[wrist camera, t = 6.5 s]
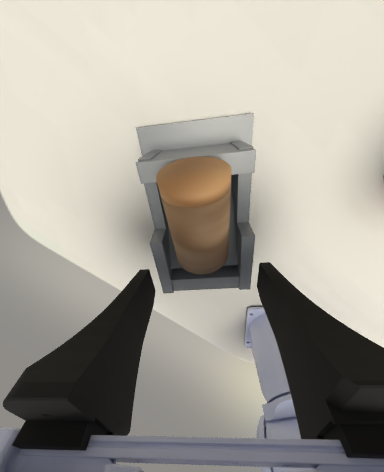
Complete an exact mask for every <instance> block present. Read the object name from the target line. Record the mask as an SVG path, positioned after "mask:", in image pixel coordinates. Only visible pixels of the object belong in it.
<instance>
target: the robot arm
mask: <svg viewBox="0 0 384 472" xmlns="http://www.w3.org/2000/svg"><path fill="white" fill-rule="evenodd" d="M257 288H258V292H259V296H260V299H261V302H262V305H263V307H250V308H248V309H247V320H246V331H245V343H244V344H245V347H247V348H252V351H253V355H254V360H255V364H256V368H257V373H258V377H259V381H260V386H261V390H262V393H263V395H264V397H265V399H266V401H267V404H263V405H262V407H263V411H264V416H261V417H260V420H259V424H258V428H257V438H218V437H214V438H213V437H166V436H164V437H163V436H127V435H128V433H129V432H130V427H131V418H132V410H133V401H134V394H135V387H136V379H137V374H138V367H139V361H140V356H141V350H142V345H143V341H144V337H145V333H146V330H147V326H148V323H149V319H150V315H151V312H152V308H153V304H154V297H155V288H154V284H153V281H152V278H151V275H150V271H149V269H147V270H140V271H139V272H138V273H137V274H136V275H135V276H134V278H133V279H132V280H131V281H130V282H129V284H128V285H127V286H126V287H125V288H124V289H123V291H122V292H121V293H120V294H119V295H118V296H117V297H116V298H115V300H113V302H112V303H111V304H110V305H109V306H108V307H107V308H106V309H105V310H104V311H103V312H102V313H101V314H99V315H98V316H97V317H96V318H95V319H94V320H93V321H92V322H91V323H89V324H88V325H87V326H86V327H84V328H83V329H82V330H81V331H79V332H78V333H77V334H76V335H75V336H73V337H72V338H71V339H69V340H68V341H66V342H65V343H64V344H62V345H61V346H60V347H58V348H57V349H55V350H54V351H52V352H51V353H50V354H48V355H46V356H45V357H43V358H42V359H40V360H39V361H37V362H36V363H34V364H32V365H31V366H29V367H28V368H26V370H25V371H24V372H23V374H22V375H21V377H20V378H19V379H18V381H17V382H16V384H15V385H14V387H13V388H12V389H11V391H10V392H9V394H8V395H7V397H6V398H5V400H4V401H3V407H4V408H5V409H6V410H8V411H9V412H11V413H13V414H15V415H17V416H18V417H20V418H22V419H24V420H26V421H25V423H24V425H23V427H22V428H21V429H18V428H1V427H0V472H143V471H142V469H141V468H140V467H133V466H126V465H119V464H116V462H129V463H159V464H160V463H161V464H190V465H191V464H192V465H223V466H254V467H261V470H262V472H384V348H383V347H381V346H379V345H377V344H376V343H374V342H372V341H370V340H369V339H367V338H365V337H364V336H362V335H360V334H359V333H357V332H355V331H354V330H352V329H350V328H349V327H347V326H346V325H344V324H343V323H341V322H340V321H338V320H336V319H335V318H334V317H332V316H331V315H329V314H328V313H326V312H325V311H324V310H322V309H321V308H320V307H318V306H317V305H316V304H314V303H313V302H312V301H311V300H309V299H308V298H307V297H306V296H305V295H303V294H302V293H301V292H300V291H299V290H298V289H297V288H295V287H294V286H293V285H292V284H291V283H290V282H289V281H288V280H287V279H286V278H285V277H284V276H283V275H282V274H281V273H280V272H279V271H278V270H277V269H276V268H275V267H274V266H273V265H272V264H271V263H270V262H268V263H260V264H259V273H258V281H257Z"/></svg>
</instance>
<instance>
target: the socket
mask: <svg viewBox="0 0 384 472" xmlns="http://www.w3.org/2000/svg"><path fill="white" fill-rule="evenodd" d="M253 114H254V113H252V114H244V115H235V116H227V117H219V118H211V119H203V120H195V121H187V122H179V123H171V124H163V125H155V126H147V127H139V128H136V130H137V134H138V139H139V143H140V147H141V152H142V157H141V158H139V159H138V162H136V166H137V170H138V174H139V178H140V182H141V184H142V183H144V185H145V189H146V193H147V197H148V202H149V206H150V210H151V214H152V218H153V222H154V226H155V231H154V234H153V236H152V239H151V241H150V245H151V249H152V253H153V256H154V260H155V264H156V267H157V271H158V275H159V278H160V282H161V286H162V289H163V293H173V292H174V291H179V290H201V289H222V288H239V289H240V290H243V289H250V285H251V274H252V263H253V252H254V240H255V235H254V233H253V231H252V228H251V226H250V224H249V206H250V191H251V176H252V173H254V170H255V157H256V150H255V149H253V146H252V131H253ZM190 157H214V158H218V159H221V160H223V161H225V162H227V163H228V164H229V165H230V166H231V196H230V221H229V247H228V258H227V261H226V263H225V264H224V265H223V266H222V267H221V268H220V269H218V270H217V271H215V272H212V273H209V274H194V273H191V272H188V271H186V270H185V269H183V268H182V267H181V265H180V264H179V262H178V259H177V256H176V252H175V248H174V244H173V241H172V237H171V233H170V229H169V225H168V222H167V218H166V214H165V210H164V206H163V203H162V199H161V195H160V191H159V188H158V184H157V180H156V176H157V174H158V172H159V171H160V170H161V169H162V168H163V167H164V166H166V165H168V164H170V163H172V162H174V161H177V160H180V159H184V158H190Z"/></svg>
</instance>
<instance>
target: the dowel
mask: <svg viewBox="0 0 384 472" xmlns="http://www.w3.org/2000/svg"><path fill="white" fill-rule="evenodd" d="M156 180H157V184H158V188H159V191H160V195H161V199H162V203H163V206H164V210H165V214H166V218H167V222H168V225H169V229H170V233H171V237H172V241H173V244H174V248H175V252H176V256H177V259H178V262H179V264H180V265H181V267H182V268H183V269H185V270H186V271H188V272H191V273H194V274H209V273H212V272H215V271H217V270H218V269H220V268H221V267H222V266H223V265H224V264H225V263H226V261H227V258H228V247H229V221H230V196H231V166H230V165H229V164H228V163H227V162H225V161H223V160H221V159H218V158H214V157H190V158H184V159H180V160H177V161H174V162H172V163H170V164H168V165H166V166H164V167H163V168H162V169H161V170H160V171H159V172H158V174H157V176H156Z"/></svg>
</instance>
